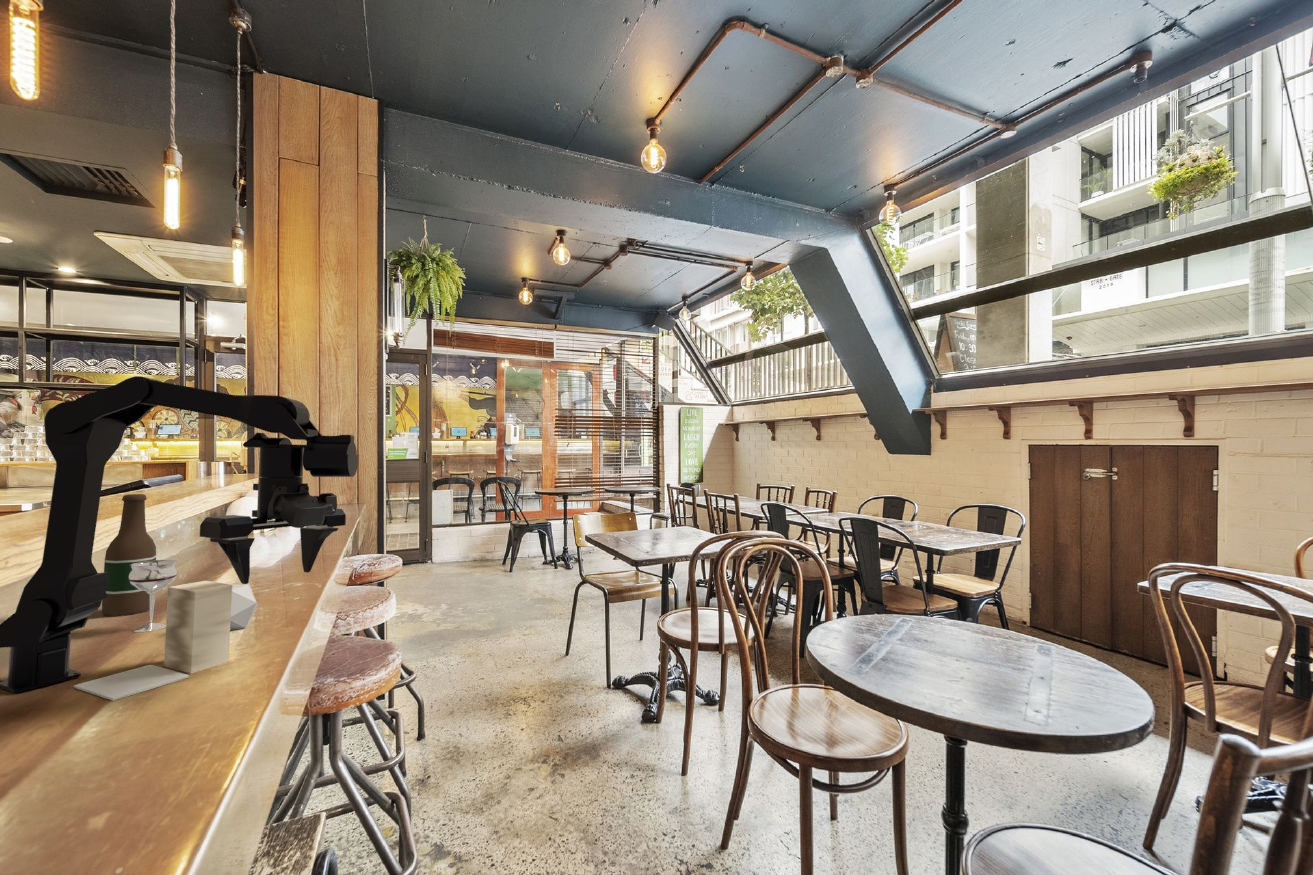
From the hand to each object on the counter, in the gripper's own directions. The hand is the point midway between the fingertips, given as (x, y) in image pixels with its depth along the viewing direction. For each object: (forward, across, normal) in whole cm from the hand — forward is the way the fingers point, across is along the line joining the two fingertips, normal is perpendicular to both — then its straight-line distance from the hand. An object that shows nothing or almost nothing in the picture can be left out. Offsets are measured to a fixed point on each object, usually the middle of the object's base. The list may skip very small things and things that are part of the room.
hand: (277, 577), depth 84 cm
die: (+14, +8, +27) cm, 31 cm away
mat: (+13, -12, +11) cm, 21 cm away
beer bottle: (+13, +5, +57) cm, 58 cm away
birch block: (+13, -5, +11) cm, 18 cm away
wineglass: (+13, +1, +40) cm, 42 cm away
